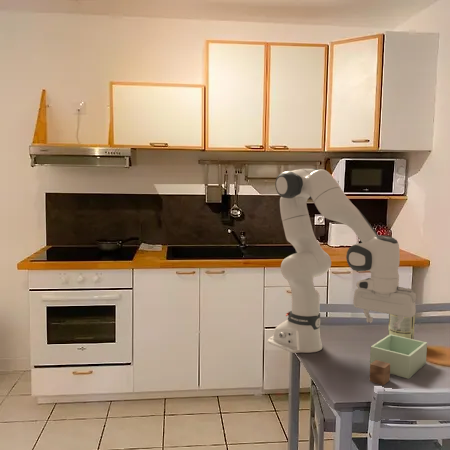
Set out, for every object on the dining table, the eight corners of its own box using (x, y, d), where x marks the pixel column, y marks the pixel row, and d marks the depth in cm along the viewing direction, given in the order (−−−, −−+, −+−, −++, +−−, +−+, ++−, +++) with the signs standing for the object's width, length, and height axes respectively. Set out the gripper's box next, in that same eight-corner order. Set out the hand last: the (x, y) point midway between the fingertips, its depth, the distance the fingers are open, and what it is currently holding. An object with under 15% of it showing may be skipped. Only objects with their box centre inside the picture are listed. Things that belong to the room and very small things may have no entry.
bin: (369, 367, 172) (370, 346, 171) (389, 354, 186) (389, 334, 185) (408, 378, 163) (409, 356, 162) (425, 363, 177) (427, 342, 176)
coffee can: (383, 339, 203) (385, 306, 201) (407, 339, 203) (409, 306, 202) (393, 347, 193) (394, 314, 191) (418, 347, 193) (420, 313, 191)
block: (369, 381, 161) (370, 364, 161) (375, 376, 165) (376, 359, 165) (383, 385, 158) (384, 368, 158) (389, 380, 162) (390, 363, 161)
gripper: (419, 287, 154) (417, 329, 156) (359, 278, 167) (358, 317, 169) (413, 291, 149) (411, 334, 151) (352, 281, 162) (350, 321, 164)
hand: (382, 325), depth 160 cm, fingers open, 8 cm apart
